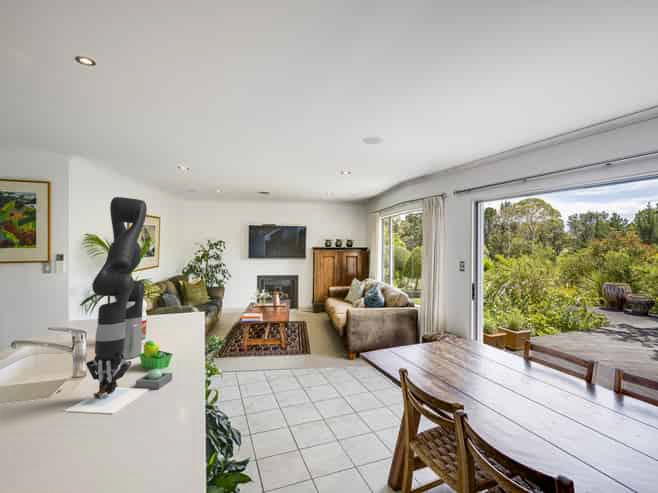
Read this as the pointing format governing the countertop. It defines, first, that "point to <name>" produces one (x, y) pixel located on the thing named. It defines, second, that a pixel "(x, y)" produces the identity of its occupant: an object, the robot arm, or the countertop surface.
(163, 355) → the fruit basket
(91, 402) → the paper sheet
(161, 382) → the button housing
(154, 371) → the button
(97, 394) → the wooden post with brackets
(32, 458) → the countertop surface
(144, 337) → the fruit juice
